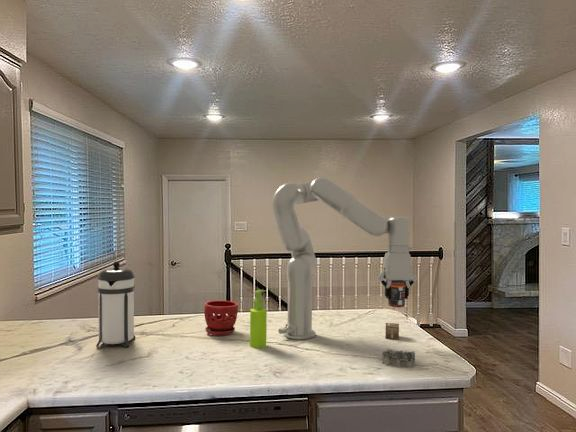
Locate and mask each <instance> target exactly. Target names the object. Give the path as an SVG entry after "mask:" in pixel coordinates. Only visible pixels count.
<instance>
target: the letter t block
mask: <svg viewBox="0 0 576 432" xmlns="http://www.w3.org/2000/svg"><path fill="white" fill-rule="evenodd" d="M399 335H400V323H393V322H385V335H384V337H385V339H387V340H400V336H399Z"/></svg>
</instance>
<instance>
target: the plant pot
mask: <svg viewBox="0 0 576 432" xmlns="http://www.w3.org/2000/svg"><path fill="white" fill-rule="evenodd" d="M203 310H204V319H205V324H206V327H205V332H206V333H207V334H209V335H211V336H212V337H213V336H218V337H221V336H222V337H223V336H229V335H231V334H233V333H234V332H235V330H236V327H235V324H236V323H237V320H238V319H237V318H238V312H239V303H238V302H235V301H230V300H210V301H207V302H205V303H204V309H203Z"/></svg>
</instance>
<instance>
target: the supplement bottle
mask: <svg viewBox="0 0 576 432" xmlns="http://www.w3.org/2000/svg"><path fill="white" fill-rule="evenodd" d="M390 289H391V298H390V299H388V298H387V300H388V301H387V303H388V306H389V307H392V308H404V307H405V303H406V299H405V283H404V282H403V281H401V280H397V281H392V282H391V285H390Z"/></svg>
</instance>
